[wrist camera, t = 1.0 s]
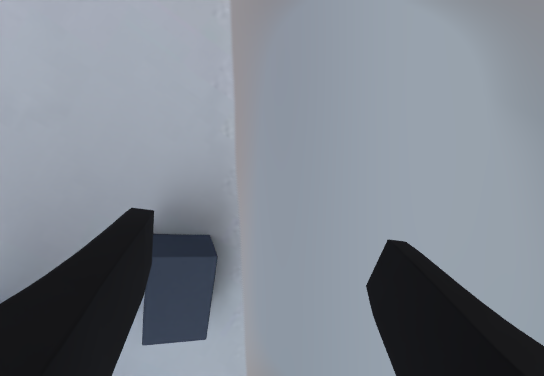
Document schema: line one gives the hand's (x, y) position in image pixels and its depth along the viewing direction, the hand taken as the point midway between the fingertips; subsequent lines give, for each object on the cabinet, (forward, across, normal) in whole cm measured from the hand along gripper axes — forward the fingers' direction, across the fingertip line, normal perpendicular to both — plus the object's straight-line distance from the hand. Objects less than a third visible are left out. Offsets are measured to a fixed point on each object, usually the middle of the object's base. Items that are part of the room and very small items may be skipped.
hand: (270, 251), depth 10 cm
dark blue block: (+12, +4, +14) cm, 19 cm away
